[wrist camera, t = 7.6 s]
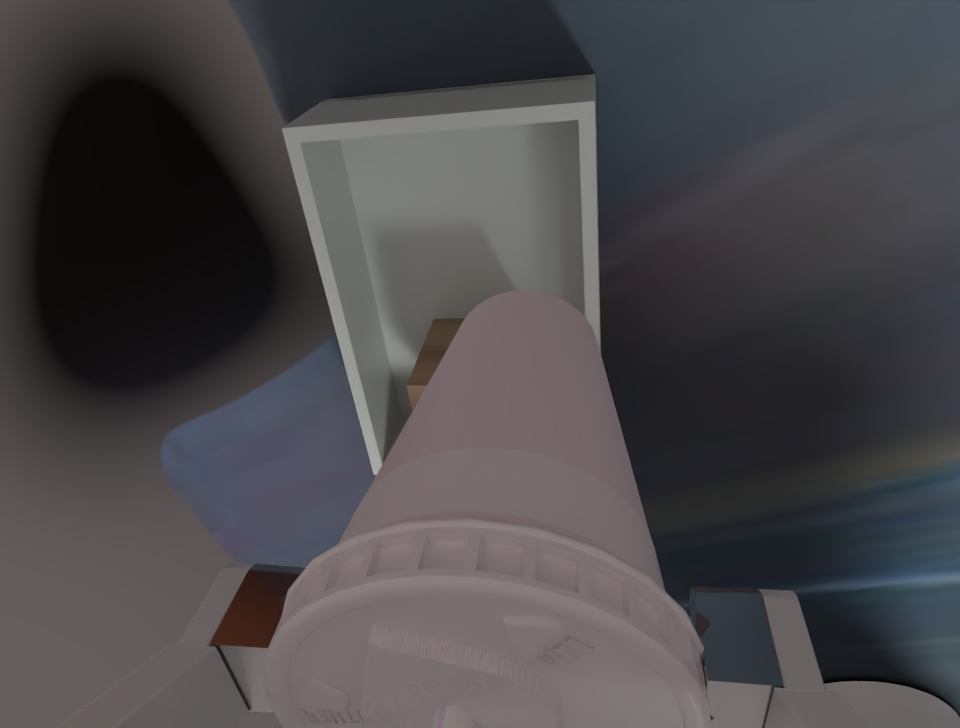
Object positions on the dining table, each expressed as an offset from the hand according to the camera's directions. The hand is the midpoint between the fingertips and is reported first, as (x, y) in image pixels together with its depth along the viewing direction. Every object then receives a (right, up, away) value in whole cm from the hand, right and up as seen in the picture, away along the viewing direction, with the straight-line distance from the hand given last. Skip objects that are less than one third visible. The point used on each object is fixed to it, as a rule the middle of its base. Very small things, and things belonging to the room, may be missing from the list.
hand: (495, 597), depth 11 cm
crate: (0, +8, +23) cm, 24 cm away
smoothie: (+1, +4, +6) cm, 8 cm away
